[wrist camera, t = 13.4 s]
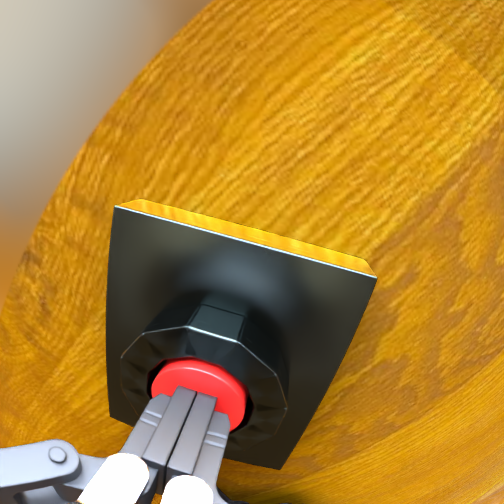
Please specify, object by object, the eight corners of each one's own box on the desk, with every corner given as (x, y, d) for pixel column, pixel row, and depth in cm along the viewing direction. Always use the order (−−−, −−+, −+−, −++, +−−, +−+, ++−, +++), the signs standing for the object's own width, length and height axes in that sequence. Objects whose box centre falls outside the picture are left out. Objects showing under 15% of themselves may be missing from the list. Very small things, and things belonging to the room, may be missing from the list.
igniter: (139, 197, 13) (85, 213, 9) (365, 259, 12) (393, 298, 8) (124, 394, 16) (95, 437, 13) (282, 442, 16) (278, 495, 12)
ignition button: (171, 330, 12) (153, 354, 10) (260, 357, 11) (254, 386, 10) (163, 392, 13) (149, 417, 11) (239, 416, 12) (232, 444, 11)
